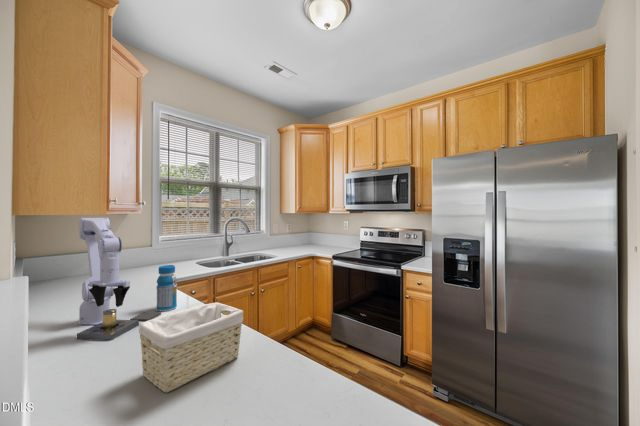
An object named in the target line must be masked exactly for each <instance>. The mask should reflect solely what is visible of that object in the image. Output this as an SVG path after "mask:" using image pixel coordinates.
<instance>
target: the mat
mask: <svg viewBox="0 0 640 426" xmlns="http://www.w3.org/2000/svg"><path fill="white" fill-rule="evenodd" d="M161 315H162V311H157V312H156V311H155V312H154V311H153V312H152V311H150V312H149V311H144V312H141V313H139V314H137V315H134V316H133V317H132V318H131V317H130V319H129V320H139V322H146V321H148V320H151V319H154V318H157V317H160V316H161Z"/></svg>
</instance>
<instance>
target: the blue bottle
mask: <svg viewBox="0 0 640 426" xmlns="http://www.w3.org/2000/svg"><path fill="white" fill-rule="evenodd" d="M174 273H176V266H175V265H173V264H165V265H161V266H159V267H158V277H157V279H156V288H155V290H156V310H157V312H168V311H172V310H175V309H176V308H177V302H178V301H177V298H178V295H177V291H178V283H177V281H178V279H177V277H176V275H175V274H174Z"/></svg>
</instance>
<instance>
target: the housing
mask: <svg viewBox="0 0 640 426" xmlns="http://www.w3.org/2000/svg"><path fill="white" fill-rule="evenodd" d="M139 325H140V321H139V320H130V319H116V327H115V328H112V329H107V330H103V322H102V323H99V324H97V325H93V326H91V327H88V328H87V329H84V330H82V331H80V332H77V333H76V340H80V341H81V340H82V341H83V340H89V341H95V340H96V341H113V340H115V339H116V338H119V337H120V336H122V335H124V334H125V333H127V332H130V331H131V330H132V329H135V328H137V327H139Z"/></svg>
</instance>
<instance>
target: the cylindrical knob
mask: <svg viewBox="0 0 640 426" xmlns="http://www.w3.org/2000/svg"><path fill="white" fill-rule="evenodd" d="M116 320H117V309H116V308H110V309H108V310H105V311H103V330H107V329H112V328H115V327H116Z"/></svg>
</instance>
